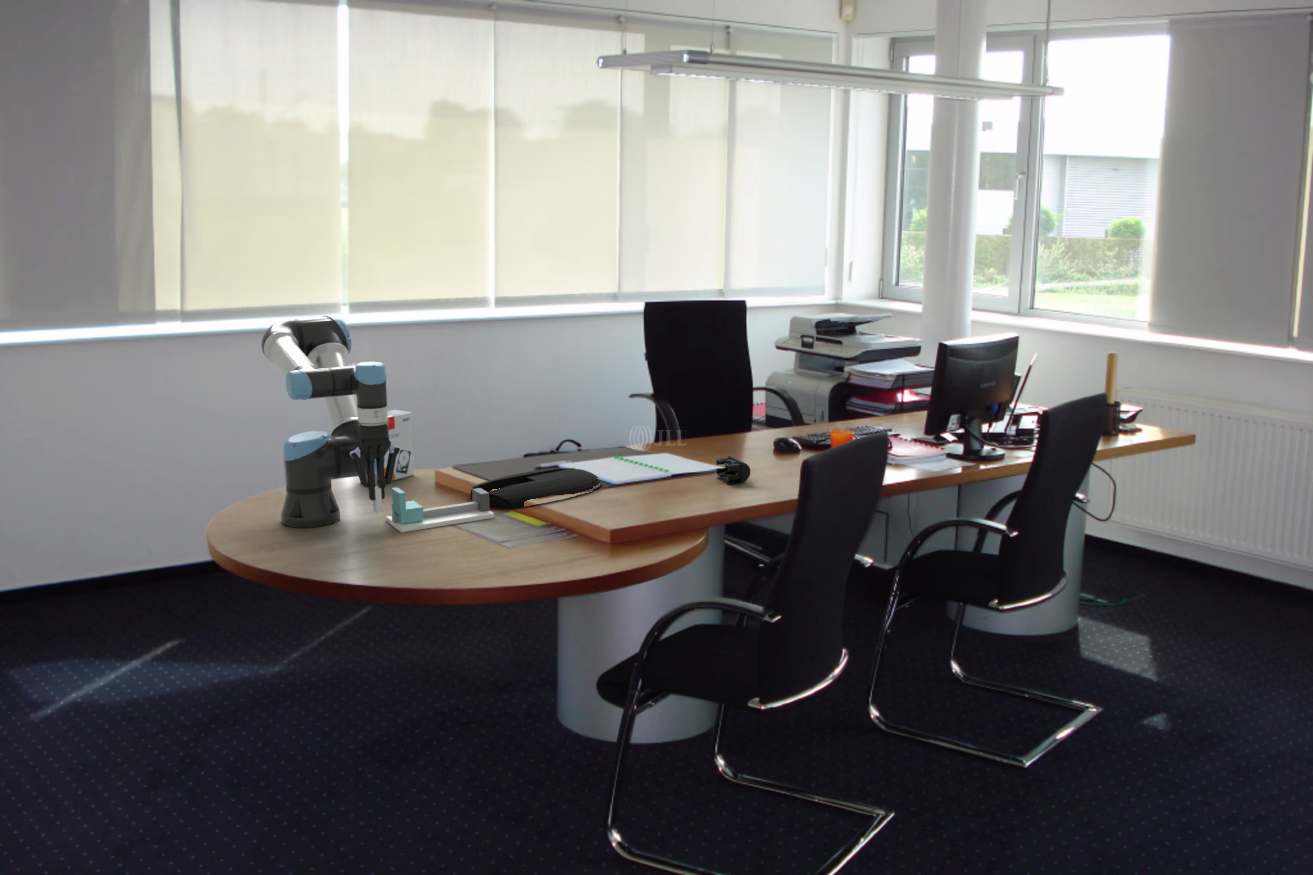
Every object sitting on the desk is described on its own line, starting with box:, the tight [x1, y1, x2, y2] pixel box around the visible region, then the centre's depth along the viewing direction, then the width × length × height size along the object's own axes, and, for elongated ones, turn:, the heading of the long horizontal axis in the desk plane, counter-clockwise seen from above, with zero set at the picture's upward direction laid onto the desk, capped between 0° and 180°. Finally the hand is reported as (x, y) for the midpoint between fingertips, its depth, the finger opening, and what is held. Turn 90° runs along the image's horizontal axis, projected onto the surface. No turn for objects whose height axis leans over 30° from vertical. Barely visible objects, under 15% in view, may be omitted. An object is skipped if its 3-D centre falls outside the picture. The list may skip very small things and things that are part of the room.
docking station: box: [470, 467, 601, 510], centre depth 346 cm, size 25×40×5 cm, turn 130°
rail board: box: [385, 488, 495, 533], centre depth 318 cm, size 26×12×6 cm, turn 121°
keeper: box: [391, 487, 424, 524], centre depth 312 cm, size 6×7×8 cm
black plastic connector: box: [715, 455, 751, 486], centre depth 358 cm, size 10×7×7 cm
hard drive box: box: [366, 409, 415, 486], centre depth 358 cm, size 16×8×20 cm, turn 148°
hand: (377, 511), depth 308 cm, fingers closed
